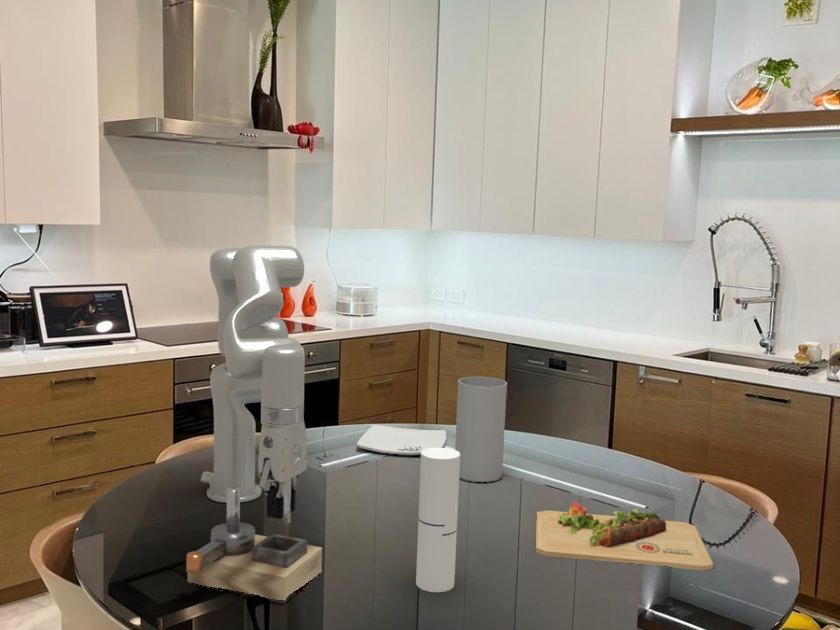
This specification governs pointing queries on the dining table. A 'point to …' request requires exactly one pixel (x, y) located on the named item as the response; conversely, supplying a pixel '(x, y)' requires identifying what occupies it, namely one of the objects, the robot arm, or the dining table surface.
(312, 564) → the block
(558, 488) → the dining table surface
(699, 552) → the cutting board
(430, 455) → the cylindrical container
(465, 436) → the cylinder vase
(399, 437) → the plate
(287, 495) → the key peg
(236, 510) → the grey crank lever
